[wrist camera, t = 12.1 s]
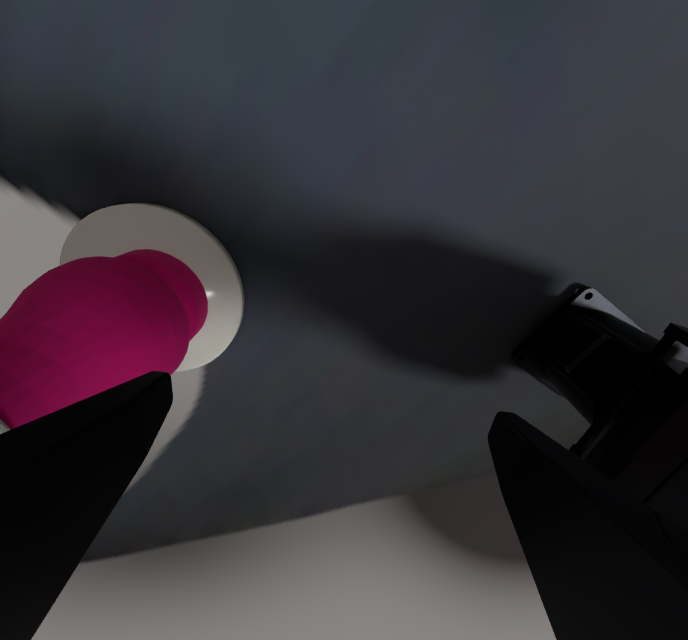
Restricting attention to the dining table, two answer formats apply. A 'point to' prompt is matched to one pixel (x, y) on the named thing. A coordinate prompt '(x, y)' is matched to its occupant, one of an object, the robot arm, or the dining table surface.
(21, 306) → the pepper mill
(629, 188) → the dining table surface
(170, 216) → the saucer
